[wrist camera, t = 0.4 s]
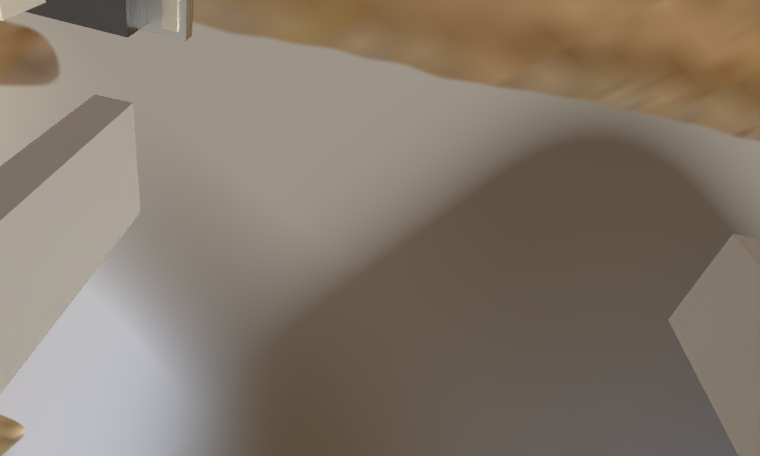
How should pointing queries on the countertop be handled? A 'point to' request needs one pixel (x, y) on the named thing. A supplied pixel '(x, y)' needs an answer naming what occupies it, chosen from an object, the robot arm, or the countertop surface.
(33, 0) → the handle
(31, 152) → the robot arm
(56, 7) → the panel
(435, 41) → the countertop surface
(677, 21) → the countertop surface
